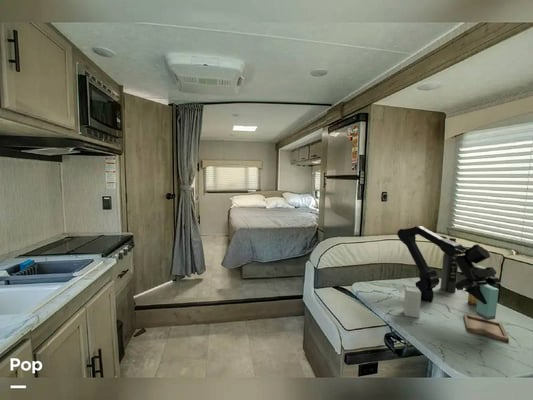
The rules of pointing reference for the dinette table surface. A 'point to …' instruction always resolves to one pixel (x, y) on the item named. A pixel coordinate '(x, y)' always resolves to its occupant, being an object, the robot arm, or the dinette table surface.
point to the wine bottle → (449, 273)
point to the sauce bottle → (472, 299)
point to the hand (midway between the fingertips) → (490, 303)
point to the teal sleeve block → (491, 298)
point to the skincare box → (412, 302)
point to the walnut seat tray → (485, 327)
